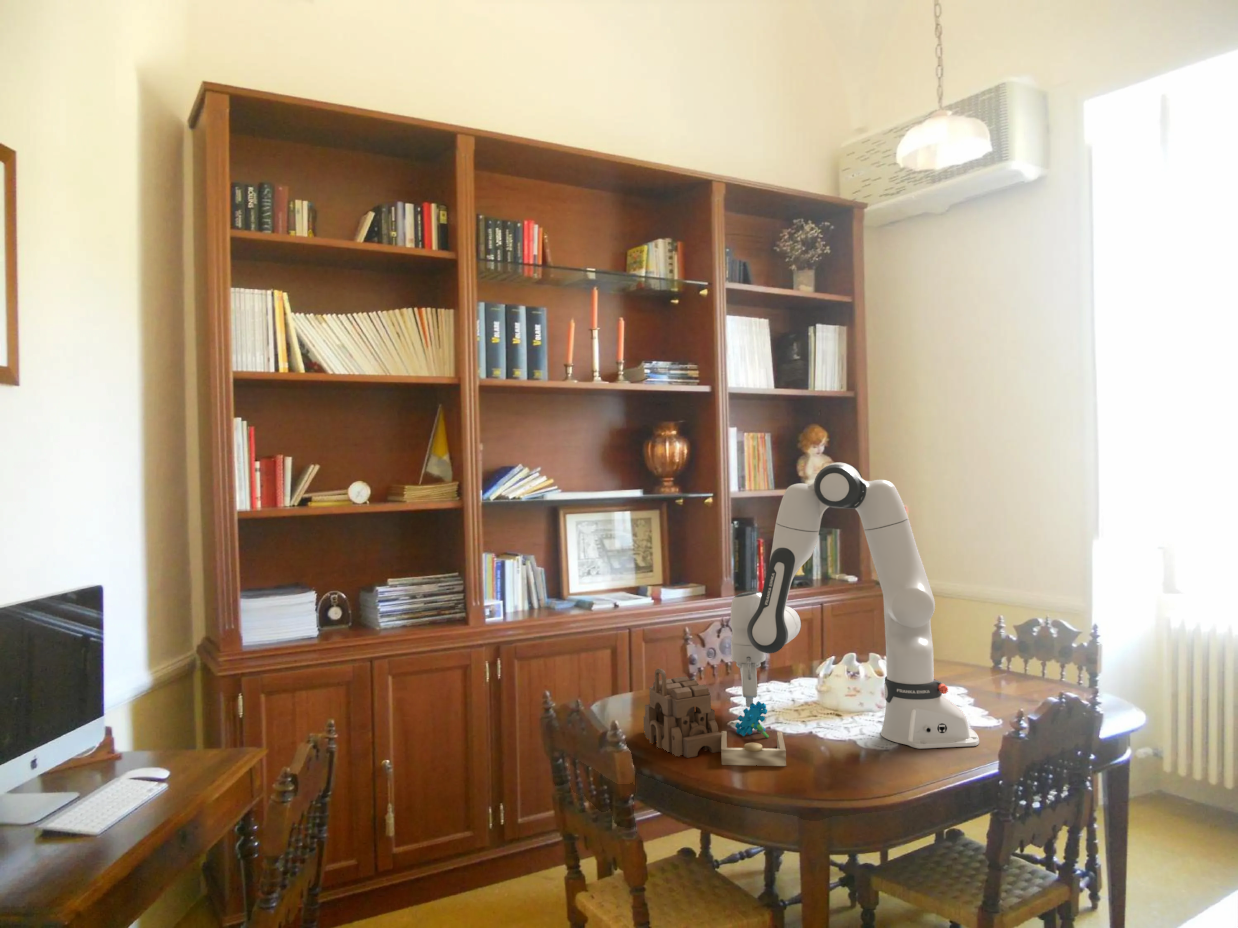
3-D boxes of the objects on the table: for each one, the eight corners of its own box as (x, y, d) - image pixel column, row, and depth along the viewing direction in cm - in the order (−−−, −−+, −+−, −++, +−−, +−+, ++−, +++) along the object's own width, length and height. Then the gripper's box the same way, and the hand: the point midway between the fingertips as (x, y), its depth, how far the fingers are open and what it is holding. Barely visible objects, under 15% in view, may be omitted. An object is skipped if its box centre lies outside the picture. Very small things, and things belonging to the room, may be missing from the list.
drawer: (782, 746, 209) (781, 728, 209) (786, 768, 194) (786, 748, 194) (721, 745, 210) (721, 727, 210) (721, 766, 196) (721, 747, 196)
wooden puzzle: (730, 750, 207) (728, 672, 207) (676, 760, 201) (674, 680, 201) (684, 725, 227) (682, 654, 227) (634, 734, 221) (632, 660, 221)
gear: (729, 721, 224) (756, 693, 224) (744, 735, 225) (771, 708, 225) (741, 741, 213) (769, 711, 213) (757, 755, 214) (786, 726, 214)
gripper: (761, 662, 218) (763, 717, 218) (758, 644, 239) (760, 694, 239) (736, 662, 219) (737, 717, 219) (735, 644, 239) (736, 694, 239)
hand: (749, 705), depth 229 cm, fingers closed
